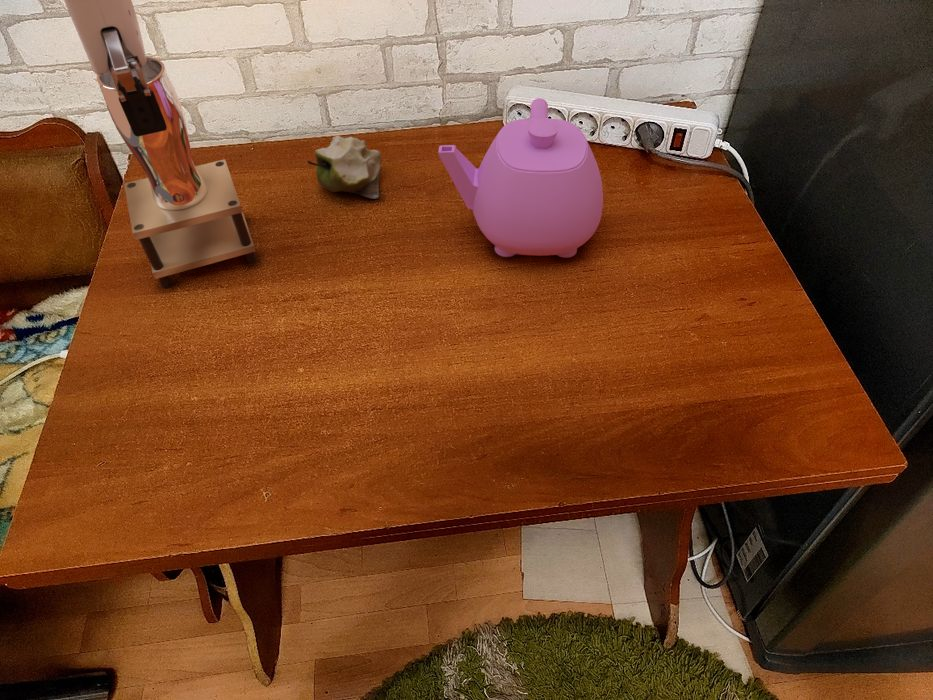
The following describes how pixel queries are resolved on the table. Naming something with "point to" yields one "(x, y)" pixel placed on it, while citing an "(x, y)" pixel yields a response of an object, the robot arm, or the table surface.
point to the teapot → (532, 186)
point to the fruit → (349, 167)
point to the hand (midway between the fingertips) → (145, 108)
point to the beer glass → (160, 141)
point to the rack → (190, 226)
